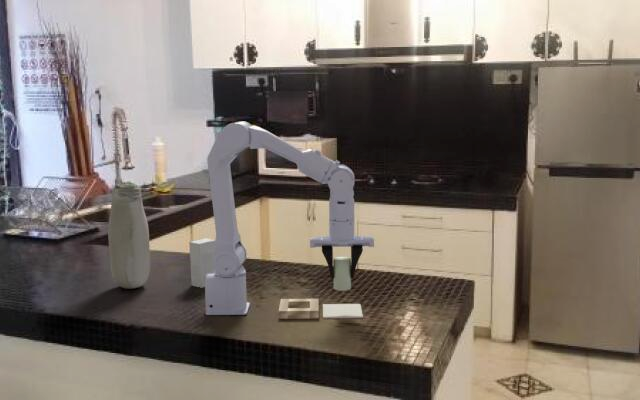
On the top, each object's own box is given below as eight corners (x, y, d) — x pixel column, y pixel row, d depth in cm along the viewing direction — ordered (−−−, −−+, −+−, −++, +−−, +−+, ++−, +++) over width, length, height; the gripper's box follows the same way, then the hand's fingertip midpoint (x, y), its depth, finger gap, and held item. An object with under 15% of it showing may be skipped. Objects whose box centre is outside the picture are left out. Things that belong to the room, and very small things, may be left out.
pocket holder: (278, 318, 150) (278, 311, 150) (280, 306, 159) (280, 299, 159) (318, 318, 150) (318, 310, 150) (318, 305, 159) (318, 298, 159)
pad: (323, 318, 150) (323, 316, 150) (322, 305, 159) (322, 304, 159) (362, 317, 150) (362, 316, 150) (360, 305, 159) (360, 303, 159)
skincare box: (207, 280, 182) (206, 237, 180) (218, 283, 179) (216, 239, 177) (190, 285, 177) (188, 241, 175) (201, 288, 175) (199, 243, 173)
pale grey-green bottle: (156, 288, 175) (150, 183, 170) (116, 295, 169) (110, 186, 165) (145, 280, 183) (140, 179, 179) (107, 285, 178) (100, 181, 173)
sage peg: (333, 290, 152) (333, 260, 151) (333, 285, 156) (333, 256, 155) (351, 290, 152) (351, 260, 151) (350, 285, 156) (350, 256, 155)
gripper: (309, 222, 147) (310, 282, 149) (375, 222, 147) (375, 281, 149) (310, 217, 154) (310, 274, 156) (372, 216, 154) (372, 273, 156)
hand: (342, 277), depth 153 cm, fingers closed on sage peg, 4 cm apart
